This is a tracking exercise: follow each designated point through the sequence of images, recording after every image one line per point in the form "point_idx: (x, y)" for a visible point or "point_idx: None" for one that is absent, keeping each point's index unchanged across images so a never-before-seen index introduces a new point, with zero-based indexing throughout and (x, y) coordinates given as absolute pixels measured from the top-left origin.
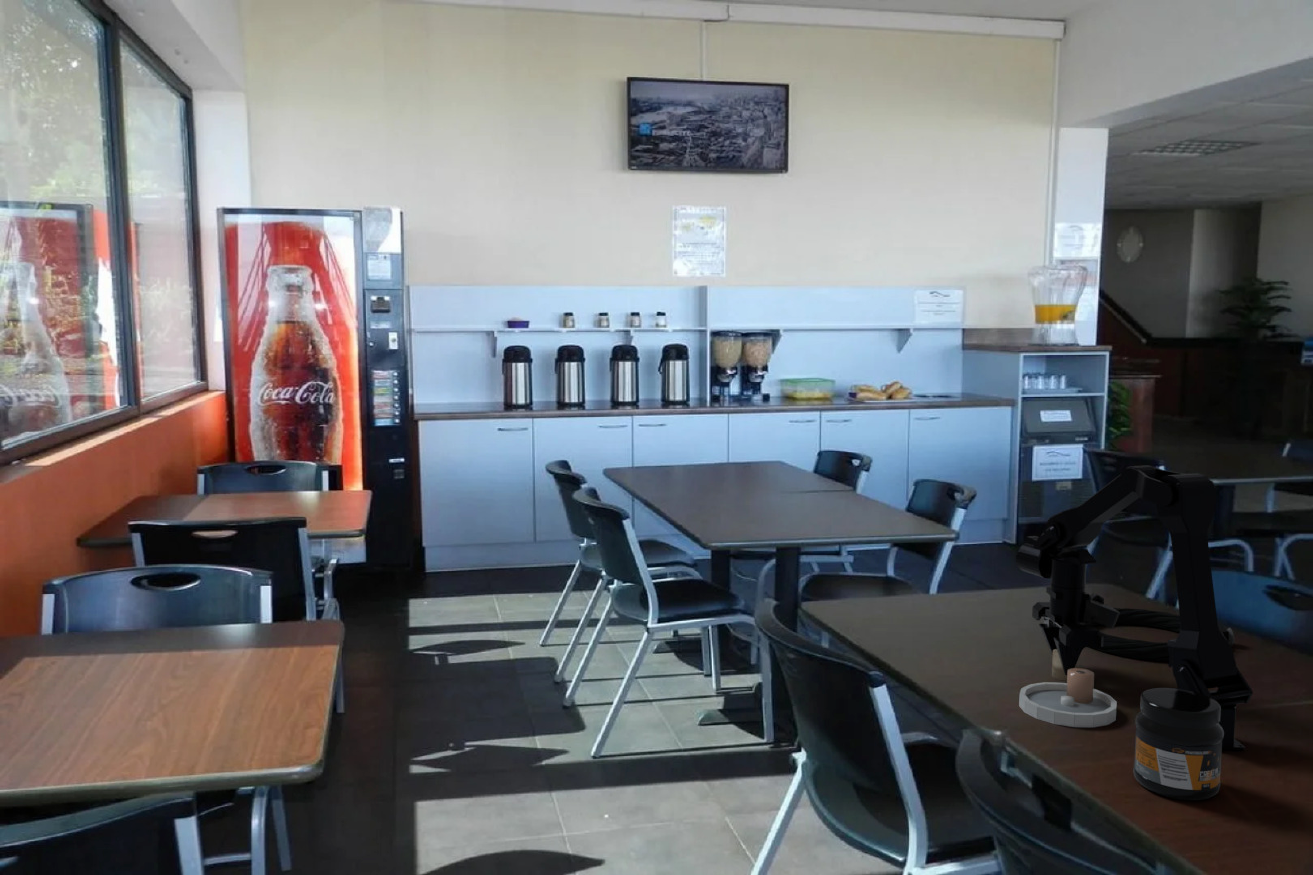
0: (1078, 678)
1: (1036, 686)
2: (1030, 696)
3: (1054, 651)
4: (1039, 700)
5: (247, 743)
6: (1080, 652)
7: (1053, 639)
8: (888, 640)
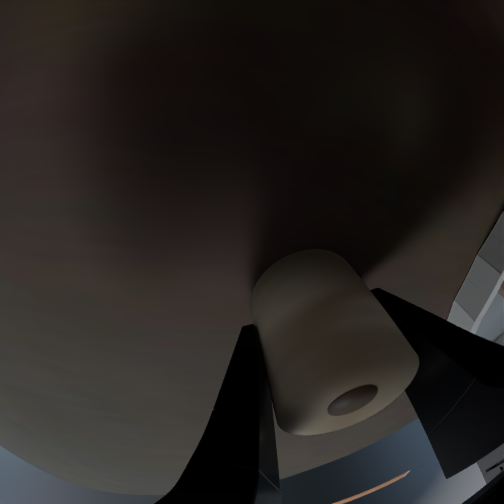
0: None
1: None
2: None
3: (336, 427)
4: (489, 334)
5: (387, 482)
6: (498, 346)
7: (277, 486)
8: (155, 485)
